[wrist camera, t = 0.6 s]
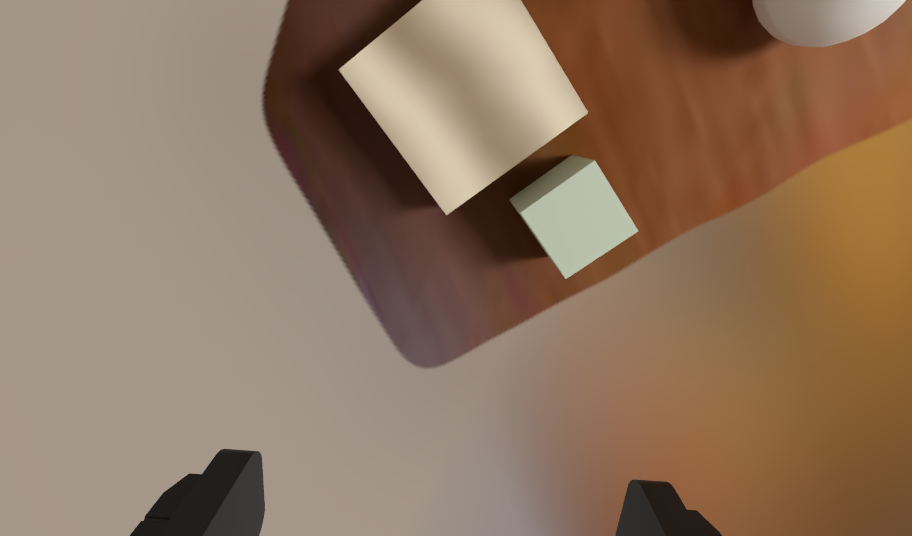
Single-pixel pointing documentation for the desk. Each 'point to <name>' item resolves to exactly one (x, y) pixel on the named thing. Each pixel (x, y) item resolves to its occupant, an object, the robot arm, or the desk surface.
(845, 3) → the white rounded oval
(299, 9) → the desk surface
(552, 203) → the sage cube
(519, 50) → the birch block
